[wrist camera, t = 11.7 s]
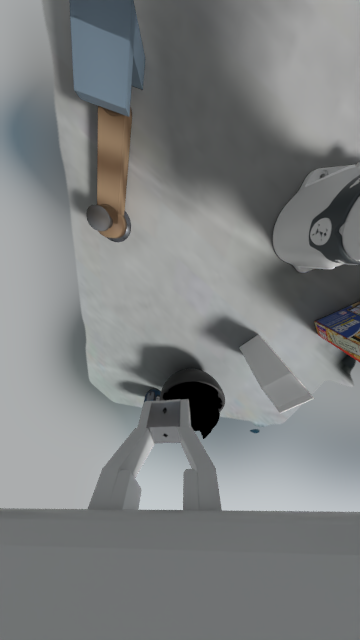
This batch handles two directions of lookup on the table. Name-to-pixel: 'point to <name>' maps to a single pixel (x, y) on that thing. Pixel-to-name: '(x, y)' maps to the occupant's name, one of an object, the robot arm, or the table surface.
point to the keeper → (106, 52)
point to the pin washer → (126, 230)
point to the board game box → (342, 329)
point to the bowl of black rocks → (196, 397)
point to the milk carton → (274, 375)
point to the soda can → (152, 395)
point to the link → (111, 173)
